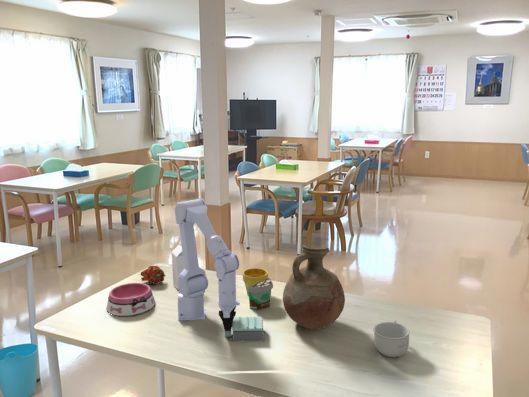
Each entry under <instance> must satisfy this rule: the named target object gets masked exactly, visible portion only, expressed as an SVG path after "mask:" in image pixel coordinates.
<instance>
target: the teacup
mask: <svg viewBox="0 0 529 397" xmlns="http://www.w3.org/2000/svg"><path fill="white" fill-rule="evenodd" d="M410 333H411V332H410V328H408V327H407V326H406V325H404V324H402V323H399V322H398V323H397V320H395V319H391V321H384V322H380V323H378V324H376V325H375V326H374V327H373V338H374V346H375V348H376V350H377V351H378V352H379V353H381V354H382V355H383V356H386V357H389V358H399V357H401V356H402V355H405V353H406V352H408V349H409V344H410Z"/></svg>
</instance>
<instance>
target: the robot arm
mask: <svg viewBox="0 0 529 397" xmlns="http://www.w3.org/2000/svg"><path fill="white" fill-rule="evenodd" d="M208 208H209V207H208V206H207V203H206V201H205V200H204V199H203V198H197V199H191V200H184V201H179V202H177V203H176V205H175V206H174V214H175V215H174V217H175V222H176V225H178V228H179V235H180V236H179V237H180V243H181V245H182V252H183V260H184V270H183V271H182V272H181V273H180V274H179V283H178V288H179V290H178V291H179V293H178V296H177V316H178V319H177V320H178V322H179V321H180V322H182V321H188V320H189V321H190V320H192V321H193V320H205V317H206V313H207V312H206V311H207V310H206V309H205V302H204V301H205V300H204V299H205V298H204V296H205V295H204V293H206V290H207V289H208V287H209V280H208V279H209V278H208V277H207V275H206V270H205V269H203V268H202V267H200V265H199V258H198V251H197V250H198V249H197V241H196V234H195V227H194V226H195V225H196V226H197V228H198V229H199V230H200V232H201V233H202V235H203V237H205V240H206V247H207V249H208V251H209V252H210V255H211V257H212V258H213V260H214V263H213V265H214V270H215V273H216V278H217V279H218V280H217V281H218V283H217V284H218V302H217V305H218V307H219V309H220V310H218V316H219V318H220V319H221V323H222V325H223V326H222V327H223V329H224V332H225V331H231V332H232V322H233V319H234V317H236V313H237V311H235V310H236V308H237V306H240V303H241V301H239V300H237V283H236V282H237V281H236V280H237V274H236V271H237V270H238V269H239V268H240V260H239V258H238V255H237V254H235V253H234V252H233V251H232V250H229V248H228V246H227V245H226V242H225V241H224V240H223V237H222V236H221V235H218V234H217V232H216V231H215V229H214V227H213V225H212V223H211V221H210V219H209V217H208Z"/></svg>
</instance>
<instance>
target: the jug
mask: <svg viewBox="0 0 529 397" xmlns="http://www.w3.org/2000/svg"><path fill="white" fill-rule="evenodd" d="M301 251H302V253H299V254H297V255H296V257H295V258H294V260H293V263H292V268H291V269H292V274H291V275H290V276H289V278H288V280H287V281H286V284H285V286H284V287H283V288H284V289H283V292H282V305H283V307H284V310H285V312H286V314H287V316H288V317H289V318H290V319H291V320H292V322H294V323H296V324H298V325H300V327H301V328H303V329H305V330H311V331H319V330H320V329H324V328H326V327H329V326H330V325H332V324H333V323H334V322H335V321H337V319H338V318H339V317H340V316H341V314H342V312H344V308H345V303H346V302H345V301H346V297H345V292H344V288H343V285H342V282H341V281H340V280H339V277H338V276H337V275H336V273H334V272H332V271H330V270H328V269H327V268H325V267H324V263H323V262H324V261H323V259H324V258H325V257H326V256H327V254H328V253H329V252H330V249H329V247H328V246H327V247H325V248H316V247H310V246H309V245H304V244H302V245H301ZM306 260H307V262H306V263H307V264H306V266H305V267H301V264H302V263H303V262H304V261H306Z"/></svg>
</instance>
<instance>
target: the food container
mask: <svg viewBox="0 0 529 397" xmlns="http://www.w3.org/2000/svg"><path fill="white" fill-rule="evenodd" d="M273 288H274V283H273V280H272V278H269V276H268V277H266V280H264V281H262V282H258V283H257V284H255V285H254V286H252V287H250V286H248V290H247V291H246V293H247V292H249V296H248V301H249V309H251V310H265V309H269V308H270V306H271V296H272V289H273Z"/></svg>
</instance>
